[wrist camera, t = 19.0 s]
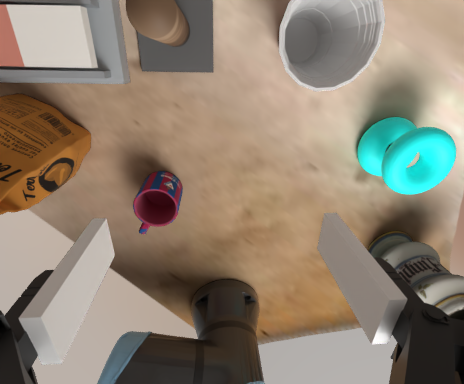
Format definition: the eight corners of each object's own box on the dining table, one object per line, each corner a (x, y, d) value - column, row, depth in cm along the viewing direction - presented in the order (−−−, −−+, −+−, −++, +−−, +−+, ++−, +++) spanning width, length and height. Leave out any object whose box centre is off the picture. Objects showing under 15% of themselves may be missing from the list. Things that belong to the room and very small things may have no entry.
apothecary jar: (421, 257, 58) (502, 332, 42) (368, 278, 60) (427, 359, 44) (411, 216, 53) (500, 285, 36) (354, 242, 54) (414, 318, 38)
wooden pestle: (190, 47, 36) (177, 38, 23) (161, 46, 36) (129, 37, 22) (189, 12, 34) (173, -20, 21) (158, 11, 34) (121, -22, 20)
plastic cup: (245, 57, 38) (259, 56, 27) (289, -24, 34) (325, -63, 23) (304, 97, 41) (337, 111, 30) (351, 27, 37) (408, 13, 26)
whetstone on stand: (130, 82, 38) (118, 85, 33) (-18, 80, 36) (-53, 83, 32) (118, -3, 33) (102, -14, 29) (-51, -9, 32) (-98, -22, 27)
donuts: (376, 191, 38) (413, 122, 33) (344, 165, 46) (370, 109, 42) (434, 203, 39) (477, 139, 35) (393, 176, 48) (423, 123, 44)
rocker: (86, 8, 29) (79, 5, 28) (97, 67, 32) (92, 68, 31) (-55, 5, 29) (-68, 3, 28) (-32, 65, 32) (-43, 65, 31)
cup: (190, 184, 46) (186, 203, 40) (160, 223, 49) (152, 247, 43) (156, 163, 44) (147, 180, 38) (127, 205, 47) (114, 227, 41)
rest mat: (213, 72, 38) (213, 72, 38) (143, 71, 37) (142, 71, 37) (212, -14, 34) (212, -15, 33) (132, -17, 33) (131, -18, 32)
